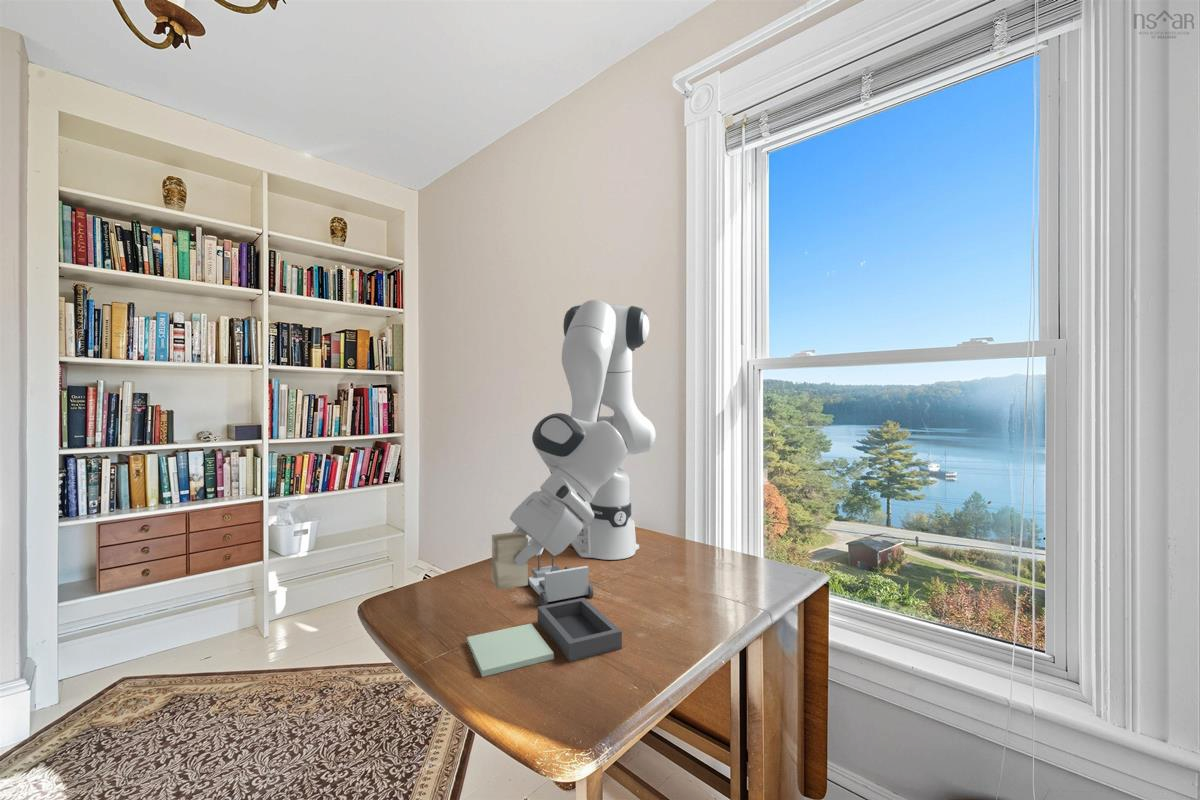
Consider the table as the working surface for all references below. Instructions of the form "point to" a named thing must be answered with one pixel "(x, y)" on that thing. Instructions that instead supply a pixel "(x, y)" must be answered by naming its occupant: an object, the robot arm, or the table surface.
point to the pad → (508, 649)
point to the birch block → (508, 560)
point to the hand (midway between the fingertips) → (511, 557)
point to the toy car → (560, 582)
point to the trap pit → (579, 629)
